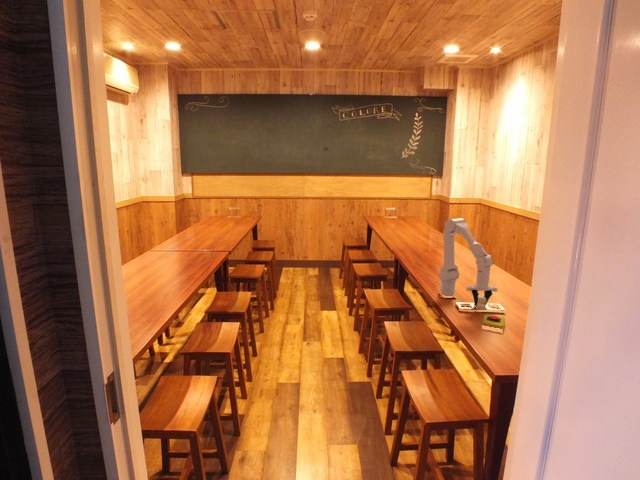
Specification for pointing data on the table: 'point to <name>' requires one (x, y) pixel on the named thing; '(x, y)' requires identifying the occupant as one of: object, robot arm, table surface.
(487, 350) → the table surface
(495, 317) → the emergency button
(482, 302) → the birch peg
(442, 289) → the robot arm
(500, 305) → the tan slotted board
